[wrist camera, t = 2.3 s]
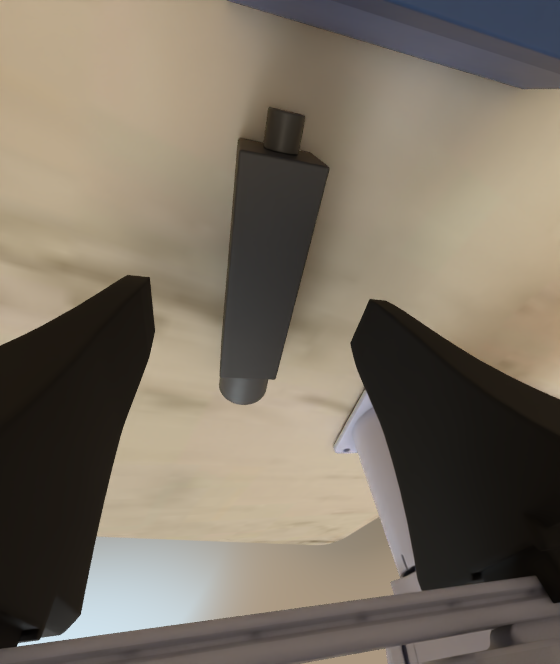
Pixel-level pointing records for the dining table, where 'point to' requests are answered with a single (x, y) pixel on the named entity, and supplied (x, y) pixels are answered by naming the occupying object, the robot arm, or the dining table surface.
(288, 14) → the blue box
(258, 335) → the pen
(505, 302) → the dining table surface
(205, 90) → the dining table surface
